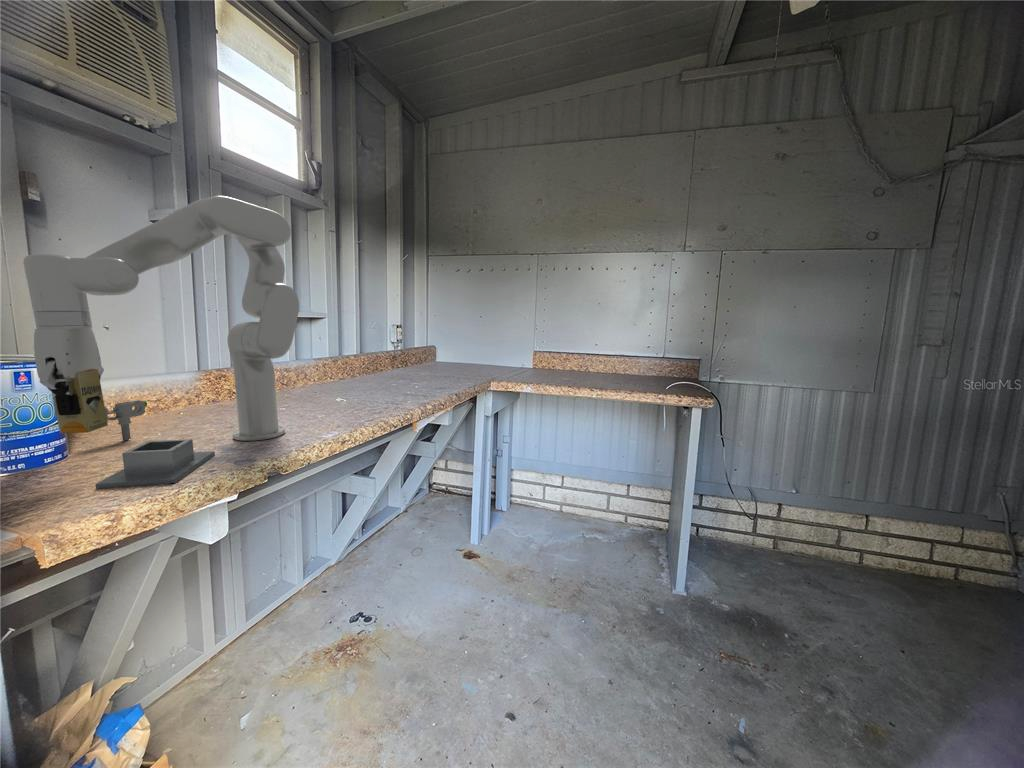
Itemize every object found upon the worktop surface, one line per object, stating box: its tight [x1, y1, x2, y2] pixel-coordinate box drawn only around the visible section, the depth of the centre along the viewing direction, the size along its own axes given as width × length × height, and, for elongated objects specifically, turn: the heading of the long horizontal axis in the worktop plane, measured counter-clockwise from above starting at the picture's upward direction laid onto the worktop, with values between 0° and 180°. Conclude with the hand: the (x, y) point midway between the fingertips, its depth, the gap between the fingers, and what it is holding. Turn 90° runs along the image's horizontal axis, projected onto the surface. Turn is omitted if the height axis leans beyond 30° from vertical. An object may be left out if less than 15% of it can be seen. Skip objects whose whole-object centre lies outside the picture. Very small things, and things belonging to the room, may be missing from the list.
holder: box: [94, 438, 216, 490], centre depth 90 cm, size 18×13×6 cm
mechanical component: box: [104, 399, 148, 441], centre depth 110 cm, size 3×10×10 cm, turn 160°
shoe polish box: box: [51, 369, 109, 434], centre depth 84 cm, size 5×5×12 cm
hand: (81, 410), depth 85 cm, fingers closed on shoe polish box, 5 cm apart
